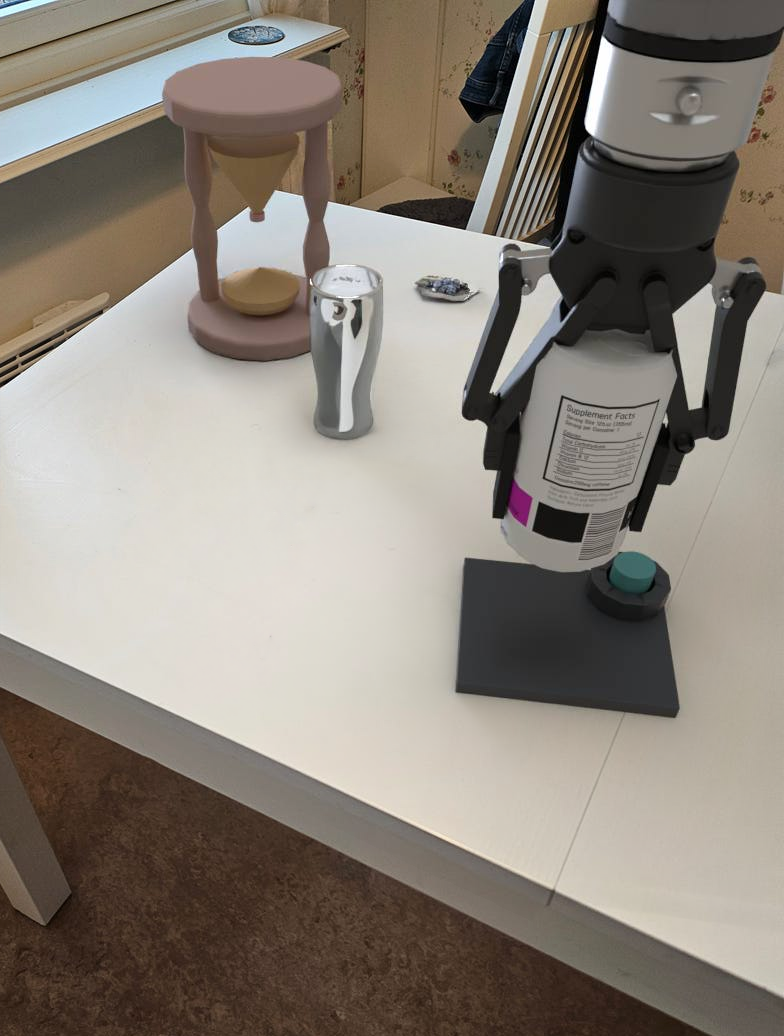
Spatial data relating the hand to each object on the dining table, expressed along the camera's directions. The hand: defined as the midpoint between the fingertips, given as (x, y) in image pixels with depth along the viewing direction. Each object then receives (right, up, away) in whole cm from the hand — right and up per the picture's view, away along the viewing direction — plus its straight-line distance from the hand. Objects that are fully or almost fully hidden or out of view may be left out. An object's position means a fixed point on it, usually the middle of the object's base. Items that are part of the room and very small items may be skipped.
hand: (565, 511), depth 60 cm
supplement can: (0, -2, +2) cm, 2 cm away
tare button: (+9, -4, +12) cm, 15 cm away
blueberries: (0, +34, +51) cm, 61 cm away
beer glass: (-13, +14, +32) cm, 37 cm away
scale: (+3, -8, +11) cm, 14 cm away
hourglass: (-22, +29, +46) cm, 59 cm away
